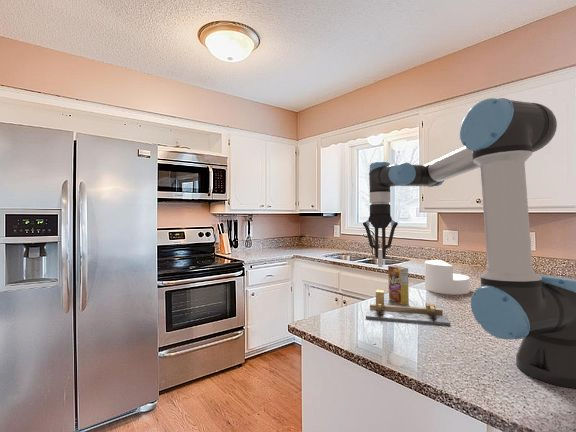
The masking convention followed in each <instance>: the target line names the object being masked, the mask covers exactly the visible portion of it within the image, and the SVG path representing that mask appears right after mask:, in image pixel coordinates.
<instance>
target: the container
mask: <svg viewBox="0 0 576 432" xmlns="http://www.w3.org/2000/svg"><path fill="white" fill-rule="evenodd" d="M453 272H454V266H453V265H452V264H449V263H448V262H446V261H444V260H442V259H430V260H425V261H424V288H425V290H427V291H429V292H432V293H436V294H437V293H438V294H443V295H465V294H469V293H470V289H471V287H470V285H471V284H470V283H471V282H470V279H471V278H470V277H469V276H468V275H464V274H459V273H453Z"/></svg>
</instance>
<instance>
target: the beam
mask: <svg viewBox="0 0 576 432" xmlns="http://www.w3.org/2000/svg"><path fill="white" fill-rule="evenodd" d="M436 306H437V305H435V303H429V302H428V303H427V302H425V307H424V306H423V307H422V306H421V307H420V306H410V305H409V306H407V305H394V304H384V311H389V312H402V313H416V314H430V315H432V317H434V315H443V316H444V314H443V313H444V311H443V309H442V308H438V307H436ZM369 310H375V311H376V303H370V304H369Z"/></svg>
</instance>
